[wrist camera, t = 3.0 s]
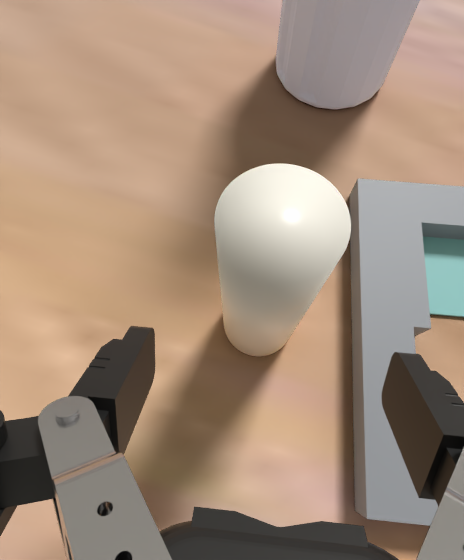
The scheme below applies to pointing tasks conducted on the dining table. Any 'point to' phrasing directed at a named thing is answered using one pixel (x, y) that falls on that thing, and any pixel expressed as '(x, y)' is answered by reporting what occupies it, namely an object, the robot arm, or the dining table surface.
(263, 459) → the dining table surface
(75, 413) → the robot arm
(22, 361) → the dining table surface
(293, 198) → the cream rounded cylinder
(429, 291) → the rectangular recess board
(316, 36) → the soap bottle
